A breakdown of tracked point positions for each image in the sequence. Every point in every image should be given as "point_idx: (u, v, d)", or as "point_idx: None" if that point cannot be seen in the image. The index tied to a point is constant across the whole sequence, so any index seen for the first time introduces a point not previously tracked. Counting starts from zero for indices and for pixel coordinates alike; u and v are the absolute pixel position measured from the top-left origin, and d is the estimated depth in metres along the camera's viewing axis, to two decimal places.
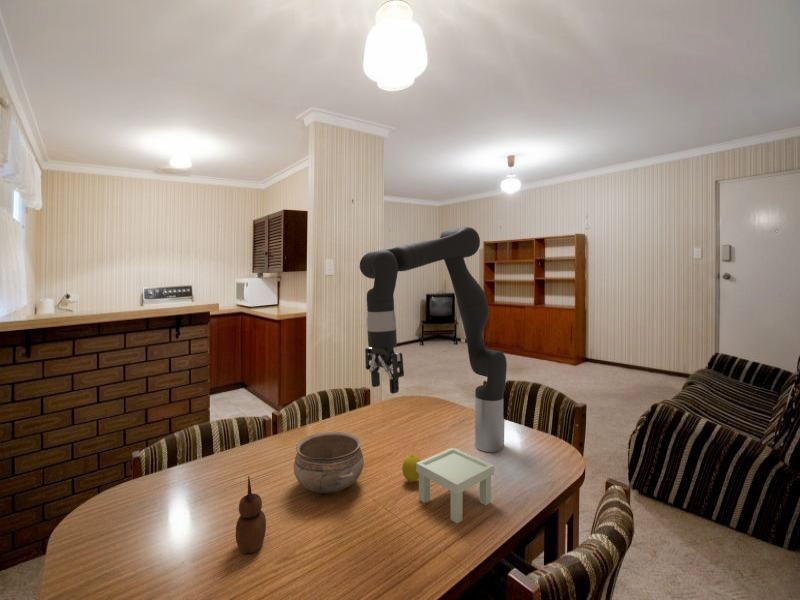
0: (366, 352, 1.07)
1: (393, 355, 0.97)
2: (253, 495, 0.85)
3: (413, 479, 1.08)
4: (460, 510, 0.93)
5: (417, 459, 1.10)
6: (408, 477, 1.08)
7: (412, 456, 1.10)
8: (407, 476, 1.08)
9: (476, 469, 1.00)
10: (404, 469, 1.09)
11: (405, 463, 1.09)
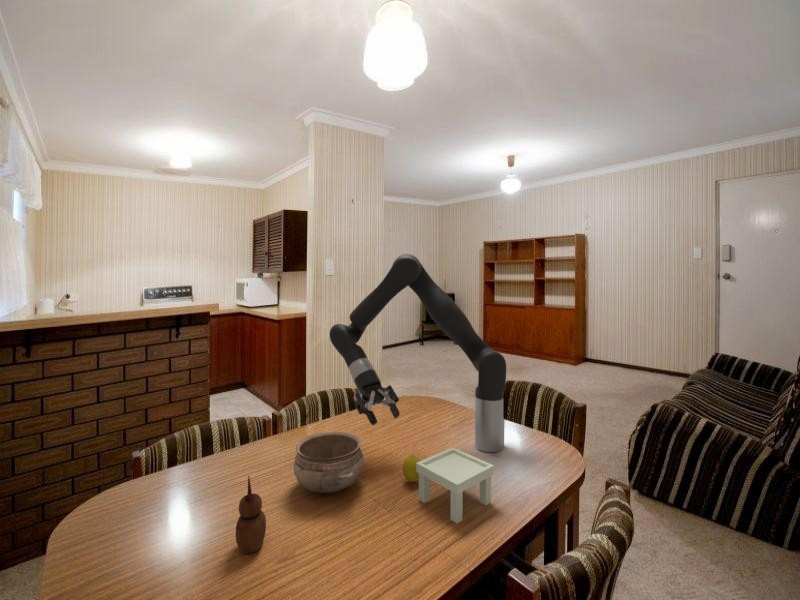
0: None
1: None
2: (253, 495, 0.85)
3: (413, 479, 1.08)
4: (460, 510, 0.93)
5: (417, 459, 1.10)
6: (408, 477, 1.08)
7: (412, 456, 1.10)
8: (407, 476, 1.08)
9: (476, 469, 1.00)
10: (404, 469, 1.09)
11: (405, 463, 1.09)
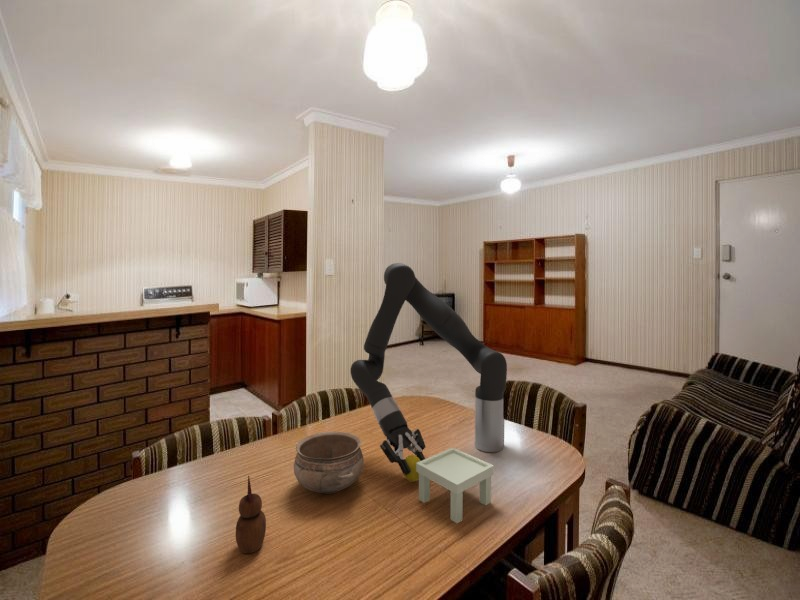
0: None
1: None
2: (253, 495, 0.85)
3: (413, 479, 1.08)
4: (460, 510, 0.93)
5: (417, 459, 1.10)
6: (408, 477, 1.08)
7: (412, 456, 1.10)
8: (407, 476, 1.08)
9: (476, 469, 1.00)
10: None
11: None
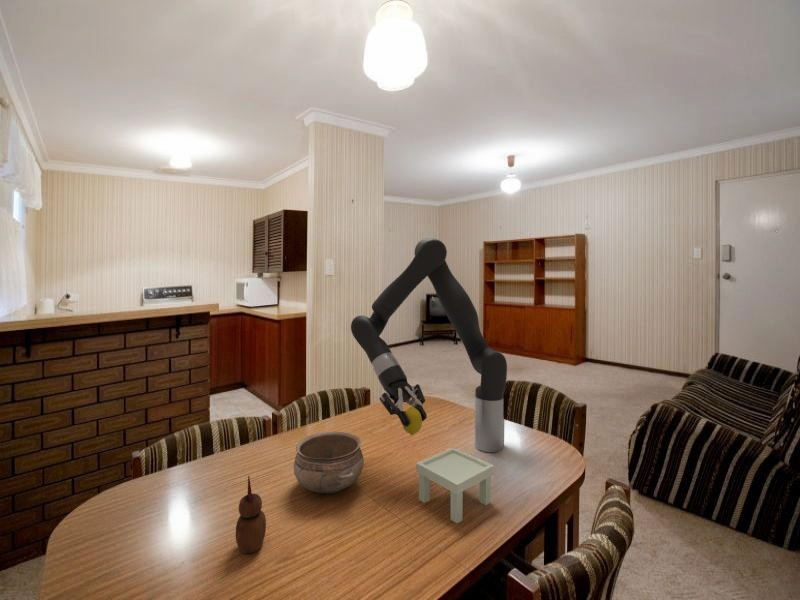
0: None
1: None
2: (253, 495, 0.85)
3: (413, 431, 1.08)
4: (460, 510, 0.93)
5: (417, 411, 1.09)
6: (408, 429, 1.08)
7: (412, 408, 1.09)
8: (407, 428, 1.08)
9: (476, 469, 1.00)
10: None
11: None
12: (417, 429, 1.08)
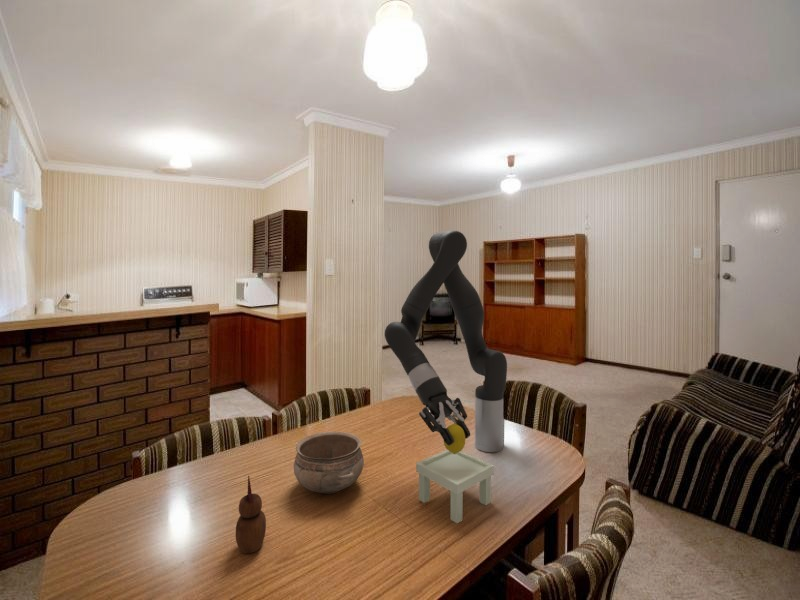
0: None
1: None
2: (253, 495, 0.85)
3: (456, 450, 0.98)
4: (460, 510, 0.93)
5: (460, 428, 1.00)
6: (451, 448, 0.98)
7: (455, 425, 1.00)
8: (449, 447, 0.98)
9: (476, 469, 1.00)
10: None
11: None
12: (461, 448, 0.99)
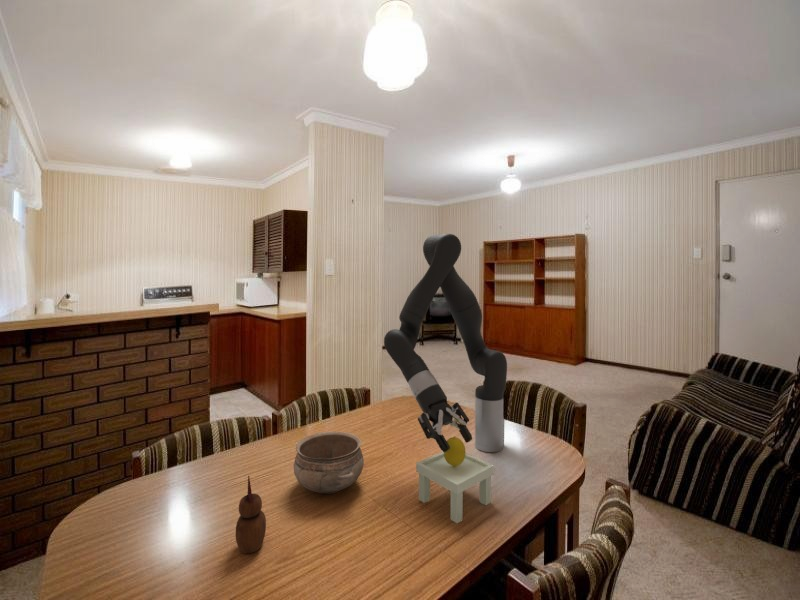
0: None
1: None
2: (253, 495, 0.85)
3: (456, 463, 0.99)
4: (460, 510, 0.93)
5: (460, 441, 1.00)
6: (451, 461, 0.99)
7: (455, 438, 1.00)
8: (449, 460, 0.99)
9: (476, 469, 1.00)
10: (446, 452, 0.99)
11: None
12: (461, 461, 0.99)
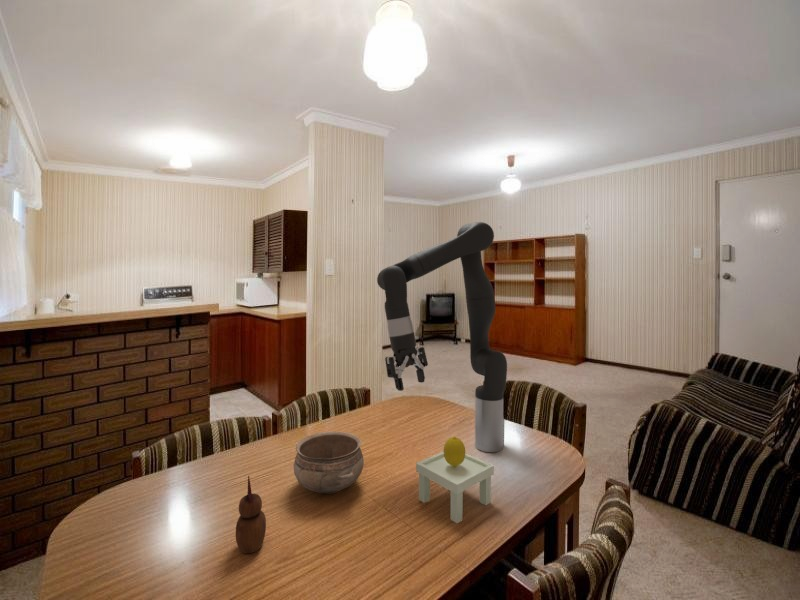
0: None
1: None
2: (253, 495, 0.85)
3: (456, 463, 0.99)
4: (460, 510, 0.93)
5: (460, 441, 1.00)
6: (451, 461, 0.99)
7: (454, 438, 1.00)
8: (449, 460, 0.99)
9: (476, 469, 1.00)
10: (446, 452, 0.99)
11: (447, 446, 0.99)
12: (461, 461, 0.99)
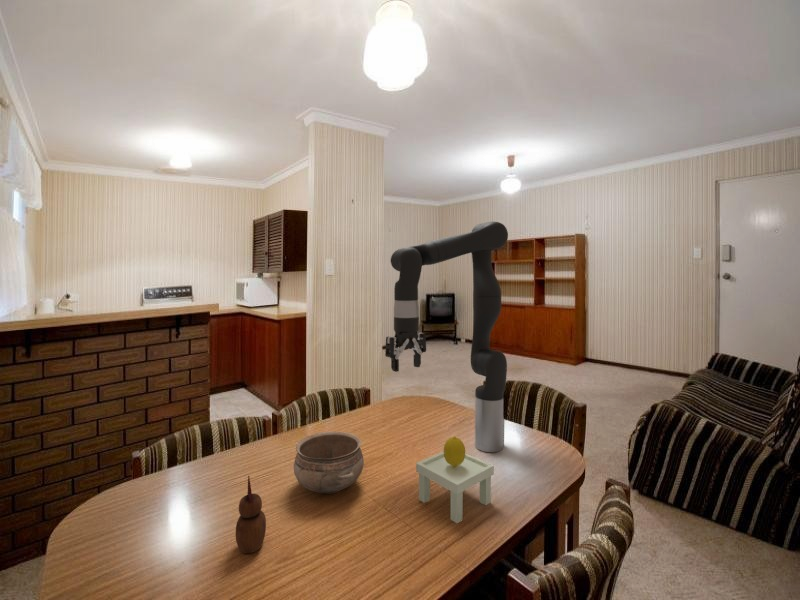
0: None
1: None
2: (253, 495, 0.85)
3: (456, 463, 0.99)
4: (460, 510, 0.93)
5: (460, 441, 1.00)
6: (451, 461, 0.99)
7: (454, 438, 1.00)
8: (449, 460, 0.99)
9: (476, 469, 1.00)
10: (446, 452, 0.99)
11: (447, 446, 0.99)
12: (461, 461, 0.99)
